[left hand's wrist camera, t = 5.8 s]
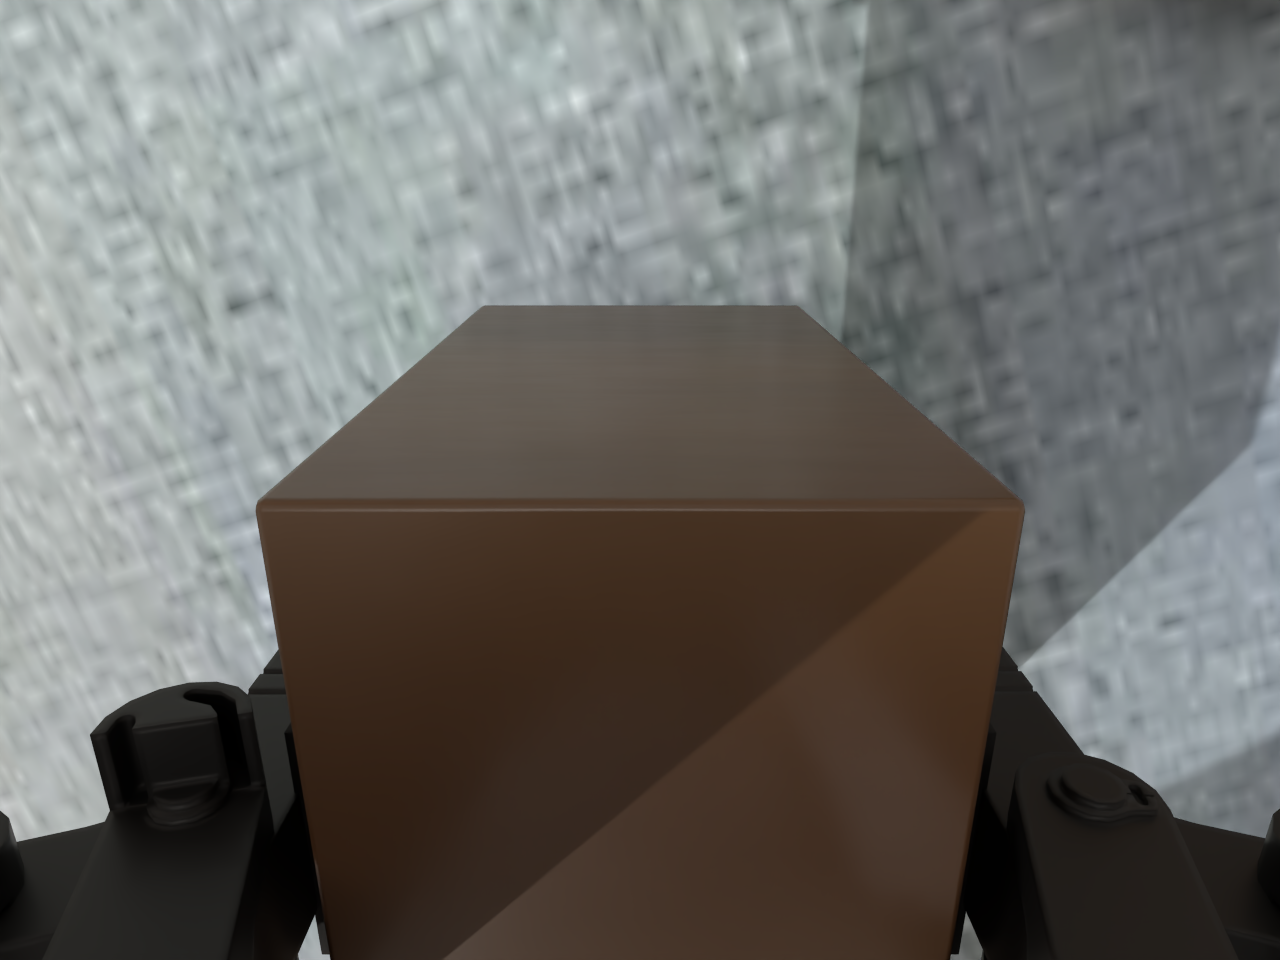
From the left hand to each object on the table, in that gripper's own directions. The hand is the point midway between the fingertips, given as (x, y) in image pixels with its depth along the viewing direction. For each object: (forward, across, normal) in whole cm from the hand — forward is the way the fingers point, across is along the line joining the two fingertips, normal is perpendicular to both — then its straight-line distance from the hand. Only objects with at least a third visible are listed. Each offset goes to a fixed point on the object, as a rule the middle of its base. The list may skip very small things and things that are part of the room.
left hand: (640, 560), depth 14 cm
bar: (+1, 0, -8) cm, 9 cm away
